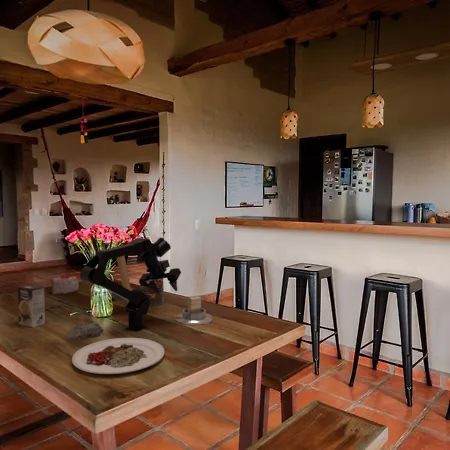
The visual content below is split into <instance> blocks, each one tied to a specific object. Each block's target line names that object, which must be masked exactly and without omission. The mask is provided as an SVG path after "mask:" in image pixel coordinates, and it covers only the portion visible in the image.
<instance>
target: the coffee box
mask: <svg viewBox="0 0 450 450" xmlns="http://www.w3.org/2000/svg"><path fill="white" fill-rule="evenodd" d="M17 303H18V305H17V307H18V310H17V311H18V313H17V315H18V325H21V326H24V327H27V328H28V327H29V328H35V327H38V326H42V325H45V322H46V321H45V318H46V317H45V314H46V313H45V286H42V285H35V284H31V283H30V284H25V285H21V286H19V285H18V286H17Z"/></svg>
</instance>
